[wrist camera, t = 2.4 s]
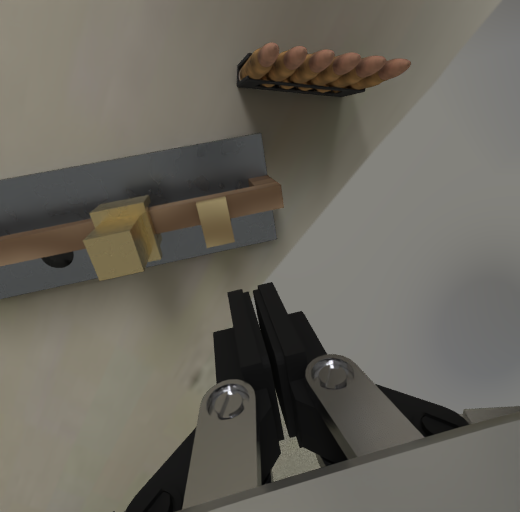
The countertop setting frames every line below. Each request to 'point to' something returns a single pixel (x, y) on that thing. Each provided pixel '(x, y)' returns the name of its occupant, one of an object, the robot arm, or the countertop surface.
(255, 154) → the bolt-hole plate
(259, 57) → the ammunition clip
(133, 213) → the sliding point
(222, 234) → the bar
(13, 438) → the countertop surface
